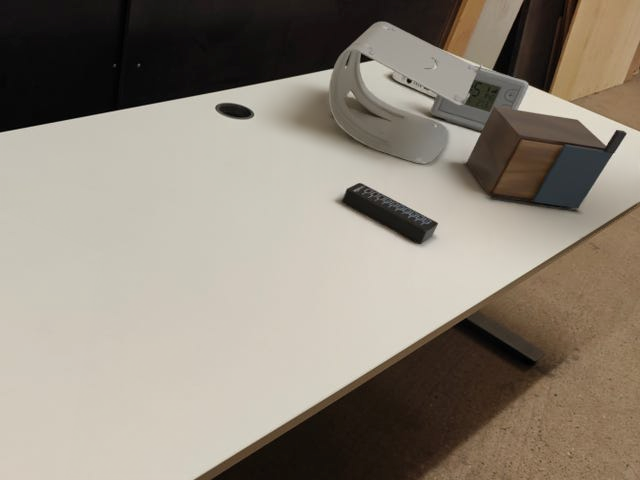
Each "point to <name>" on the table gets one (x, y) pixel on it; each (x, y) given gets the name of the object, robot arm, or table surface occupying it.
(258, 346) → the table surface
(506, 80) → the digital clock
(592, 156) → the sliding door
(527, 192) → the cupboard
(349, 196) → the multiport hub
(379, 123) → the laptop stand
